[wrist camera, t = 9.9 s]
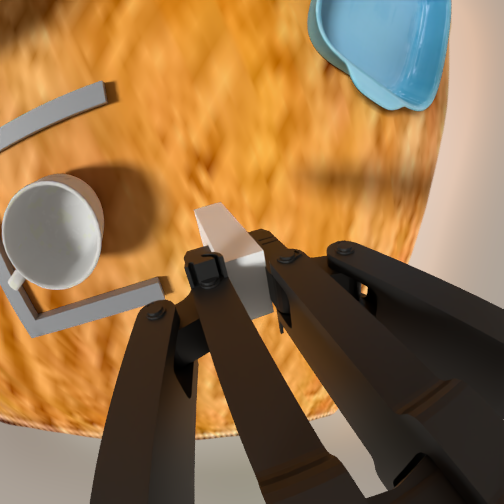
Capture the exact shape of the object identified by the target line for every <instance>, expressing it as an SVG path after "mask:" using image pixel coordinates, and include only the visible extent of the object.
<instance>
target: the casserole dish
mask: <svg viewBox="0 0 504 504" xmlns="http://www.w3.org/2000/svg"><path fill="white" fill-rule="evenodd" d="M450 21H451V0H311V4H310V8H309V13H308V33H309V37H310V40H311V42H312V44H313V46H314V47H315V49H316V50H317V51H318V53H319V54H320V55H321V56H322V57H324V58H325V59H326V60H327V61H329V62H330V63H331V64H333V65H334V66H335V67H337V68H339V69H340V70H342V71H343V72H345V73H346V74H348V75H350V77H351V80H352V82H353V83H354V85H355V87H356V88H357V89H358V90H359V91H360V92H361V93H362V94H363V95H365V96H366V97H368V98H369V99H370V100H372V101H373V102H375V103H376V104H378V105H379V106H381V107H383V108H385V109H388V110H397V109H400V108H402V107H406V108H408V109H411V110H414V111H423V110H425V109H426V108H428V107H429V106H430V104H431V103H432V102H433V100H434V98H435V96H436V93H437V90H438V87H439V84H440V80H441V76H442V72H443V67H444V62H445V56H446V51H447V44H448V37H449V30H450Z"/></svg>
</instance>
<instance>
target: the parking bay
mask: <svg viewBox="0 0 504 504" xmlns="http://www.w3.org/2000/svg"><path fill="white" fill-rule="evenodd" d="M107 103H108V100H107V95H106V90H105V84H104V82H103V81H99V82H96V83H93V84H91V85H88V86H85V87H83V88H80V89H78V90H75V91H73V92H70V93H68V94H65V95H63V96H61V97H58V98H56V99H54V100H52V101H49V102H47V103H45V104H43V105H41V106H39V107H37V108H35V109H33V110H31V111H29V112H27V113H25V114H23V115H21V116H19V117H18V118H16V119H14V120H12V121H10V122H9V123H7V124H5V125H3V126H2V127H0V152H1V151H3V150H4V149H6V148H8V147H10V146H12V145H13V144H15V143H17V142H19V141H21V140H23V139H25V138H27V137H29V136H31V135H33V134H35V133H37V132H39V131H41V130H43V129H45V128H47V127H49V126H52V125H54V124H56V123H58V122H61V121H63V120H65V119H68V118H70V117H72V116H75V115H77V114H80V113H82V112H85V111H88V110H90V109H93V108H96V107H99V106H101V105H104V104H107ZM14 271H15V270H14V267H13V265H12V263H11V261H10V259H9V257H8V255H7V253H6V251H5V248H4V245H3V242H2V240H1V237H0V285H1V287H2V289H3V291H4V292H5V294H6V296H7V298H8V300H9V302H10V303H11V305H12V307H13V309H14V310H15V312H16V314H17V315H18V317H19V319H20V320H21V322H22V324H23V325H24V327H25V328H26V330H27V332H28V333H29V335H30V336H31V338H34V337H38V336H42V335H45V334H49V333H52V332H56V331H59V330H63V329H66V328H70V327H73V326H77V325H80V324H84V323H87V322H91V321H94V320H97V319H101V318H104V317H108V316H111V315H114V314H118V313H121V312H124V311H128V310H131V309H134V308H138V307H141V306H144V305H147V304H149V303H151V302H153V301H157V300H164V299H165V295H164V291H163V289H162V286H161V283H160V281H159V278H158V277H155V278H152V279H149V280H146V281H142V282H139V283H136V284H133V285H130V286H126V287H123V288H120V289H117V290H114V291H110V292H107V293H104V294H101V295H98V296H94V297H91V298H88V299H85V300H82V301H78V302H75V303H72V304H69V305H66V306H63V307H59V308H56V309H53V310H50V311H47V312H44V313H40V314H38V313H37V311H36V310H35V308H34V306H33V304H32V303H31V301H30V299H29V297H28V295H27V293H26V292H25V290H24V288H23V286H22V285H21V287H20V288H19V289H18V290H14V289H12V288H11V287H10V286H9V284H8V280H9V279H10V277H11V276H12V274H13V273H14Z"/></svg>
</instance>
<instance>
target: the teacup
mask: <svg viewBox="0 0 504 504" xmlns="http://www.w3.org/2000/svg"><path fill="white" fill-rule="evenodd" d="M103 231H104V215H103V209H102V206H101V203H100V201H99V199H98V197H97V195H96V193H95V192H94V191H93V189H92V188H91V187H90V186H89V185H88V184H87V183H86V182H84V181H83V180H81V179H79V178H77V177H75V176H72V175H68V174H53V175H49V176H46V177H43V178H41V179H39V180H37V181H35V182H34V183H31V184H29V185H27V186H25V187H24V188H22V189H21V190H19V191H18V193H16V194H15V195H14V197H13V198H12V199H11V201H10V202H9V204H8V207H7V208H6V211H5V213H4V217H3V222H2V239H3V244H4V248H5V251H6V253H7V255H8V257H9V259H10V261H11V262H12V264H13V265H14V267H15V268H16V270H15V271H14V273H13V274H12V276H11V277H10V279H9V280H8V284H9V286H10V287H11V288H12V289H14V290H18V289H19V288H20V287H21V285H22V284H23V282H24V281H25V279H27V280H29V281H30V282H32V283H34V284H36V285H38V286H40V287H43V288H46V289H53V290H61V289H67V288H71V287H73V286H75V285H77V284H80V283H81V282H82V281H84V280H85V279H86V278H87V277H88V276H89V275H90V274H91V273H92V271H93V270H94V268H95V266H96V265H97V262H98V260H99V257H100V253H101V245H102V238H103Z"/></svg>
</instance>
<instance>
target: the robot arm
mask: <svg viewBox="0 0 504 504" xmlns="http://www.w3.org/2000/svg"><path fill="white" fill-rule="evenodd" d="M194 212H195V216H196V219H197V223H198V227H199V231H200V235H201V239H202V242H203V246H204V247H200V248H197V249H194V250H190V251H187V252H186V254H185V256H184V261H185V267H184V268H185V271H186V274H187V278H188V281H189V284H190V287H191V292H190V294H189V295H188V296H187V297H186V298H185V299H184V300H182V301H181V302H179V303H178V304H176V305H174V304H173V303H172V302H171V301H168V300H157V301H153V302H151V303H149V304H147V305H146V306H144V307H143V308H142V309H141V310H140V312H139V313H138V315H137V318H136V321H135V324H134V327H133V330H132V333H131V336H130V339H129V342H128V345H127V348H126V351H125V354H124V358H123V361H122V364H121V368H120V371H119V374H118V378H117V381H116V385H115V388H114V392H113V396H112V399H111V403H110V407H109V411H108V415H107V419H106V423H105V427H104V431H103V436H102V440H101V445H100V449H99V454H98V459H97V464H96V470H95V475H94V480H93V487H92V493H91V499H90V504H194V467H195V461H194V460H195V425H196V400H197V380H198V360H197V359H198V358H200V357H202V356H203V355H205V354H207V353H208V352H210V353H211V357H212V360H213V363H214V366H215V369H216V372H217V375H218V378H219V381H220V384H221V386H222V389H223V392H224V395H225V398H226V401H227V404H228V406H229V409H230V412H231V415H232V417H233V420H234V423H235V425H236V428H237V431H238V433H239V436H240V438H241V441H242V443H243V446H244V449H245V451H246V454H247V456H248V458H249V461H250V463H251V466H252V468H253V470H254V473H255V475H256V478H257V480H258V483H259V487H260V490H261V493H262V495H263V497H264V500H265V502H266V504H504V420H503V419H504V309H502V308H500V307H498V306H496V305H494V304H492V303H490V302H488V301H486V300H484V299H482V298H480V297H478V296H476V295H473V294H471V293H469V292H467V291H465V290H463V289H461V288H459V287H457V286H454V285H452V284H450V283H448V282H446V281H443V280H441V279H439V278H437V277H435V276H432V275H430V274H428V273H426V272H423V271H421V270H419V269H417V268H414V267H412V266H410V265H408V264H405V263H403V262H401V261H398V260H396V259H394V258H391V257H389V256H387V255H384V254H382V253H379V252H377V251H375V250H372V249H370V248H367V247H365V246H363V245H360V244H358V243H355V242H351V241H338V242H335V243H333V244H331V245H330V246H328V248H327V256H322V257H315V258H310V257H308V256H307V255H306V254H305V253H304V252H302V251H300V250H297V249H288V248H287V247H285V246H284V245H283V244H282V243H281V242H280V241H279V240H278V239H277V238H276V237H274V235H273V234H272V233H271V232H269V231H267V230H263V229H258V230H255V231H251V232H247V231H246V230H245V229H244V228H243V227H242V226H241V224H240V223H239V222H238V221H237V220H236V219H235V218H234V216H233V215H232V214H231V213H230V212H229V211H228V210H227V209H226V207H225V206H224V205H223V204H222V203H221V202H219V203H216V204H212V205H208V206H205V207H201V208H198V209H194ZM361 283H362V284H363V285H365V286H367V287H368V293H367V295H365V294H363V293H361ZM272 302H273V303H274V305H275V306H276V308H277V315H278V322H279V328H280V332H281V334H282V333H284V332H283V327H284V328H285V330H286V331H287V333H288V334H289V336H290V337H291V339H292V340H293V342H294V343H295V345H296V346H297V348H298V349H299V351H300V352H301V354H302V355H303V357H304V358H305V360H306V361H307V363H308V364H309V366H310V367H311V368H312V370H313V371H314V373H315V374H316V376H317V377H318V379H319V380H320V382H321V383H322V385H323V386H324V388H325V389H326V391H327V392H328V394H329V395H330V397H331V398H332V399H333V401H334V402H335V404H336V405H337V407H338V408H339V410H340V411H341V413H342V414H343V416H344V417H345V418H346V420H347V421H348V423H349V424H350V426H351V427H352V429H353V430H354V431H355V433H356V434H357V436H358V437H359V439H360V440H361V442H362V443H363V445H364V446H365V447H366V449H367V450H368V452H369V453H370V454H371V456H372V458H373V461H374V464H375V470H376V472H377V475H378V476H379V478H380V480H381V481H382V483H383V484H384V486H385V487H386V489H387V490H388V491H386V492H384V493H381V494H378V495H375V496H372V497H369V498H365V497H364V495H363V494H362V492H361V491H360V489H359V488H358V486H357V485H356V483H355V482H354V480H353V479H352V477H351V476H350V474H349V472H348V471H347V470H346V468H345V467H344V465H343V464H342V462H340V460H339V459H338V458H337V457H335V456H333V455H331V454H329V452H327V450H326V449H325V447H324V446H323V444H322V443H321V441H320V439H319V438H318V436H317V434H316V433H315V431H314V429H313V428H312V426H311V424H310V423H309V421H308V419H307V417H306V416H305V414H304V412H303V411H302V409H301V407H300V406H299V404H298V402H297V400H296V399H295V397H294V395H293V393H292V392H291V390H290V388H289V387H288V385H287V383H286V381H285V380H284V378H283V376H282V374H281V372H280V371H279V369H278V367H277V365H276V364H275V362H274V360H273V358H272V357H271V355H270V353H269V351H268V349H267V348H266V346H265V344H264V342H263V340H262V339H261V337H260V335H259V333H258V331H257V329H256V328H255V326H254V324H253V322H252V319H255V318H258V317H261V316H264V315H267V314H269V313H272V312H273V305H272Z"/></svg>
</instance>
